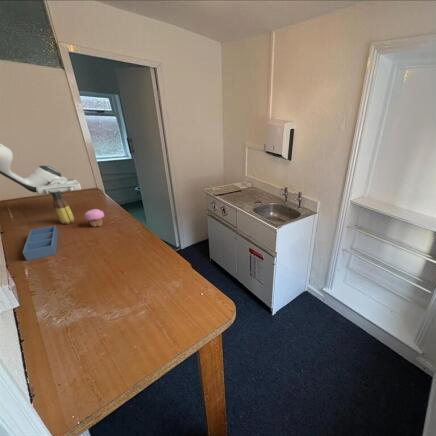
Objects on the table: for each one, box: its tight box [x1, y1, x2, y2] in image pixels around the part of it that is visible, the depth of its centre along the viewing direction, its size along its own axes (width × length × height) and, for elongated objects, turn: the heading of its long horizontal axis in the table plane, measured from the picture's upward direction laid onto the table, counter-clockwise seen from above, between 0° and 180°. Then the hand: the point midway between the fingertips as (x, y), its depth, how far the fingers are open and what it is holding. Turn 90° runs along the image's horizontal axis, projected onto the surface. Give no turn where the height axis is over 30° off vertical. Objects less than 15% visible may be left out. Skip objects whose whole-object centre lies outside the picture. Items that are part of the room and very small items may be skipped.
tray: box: [22, 225, 59, 262], centre depth 113 cm, size 9×27×4 cm, turn 41°
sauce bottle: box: [51, 190, 76, 225], centre depth 134 cm, size 6×6×20 cm
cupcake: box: [83, 208, 105, 228], centre depth 134 cm, size 9×9×10 cm
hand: (59, 191), depth 140 cm, fingers open, 8 cm apart
